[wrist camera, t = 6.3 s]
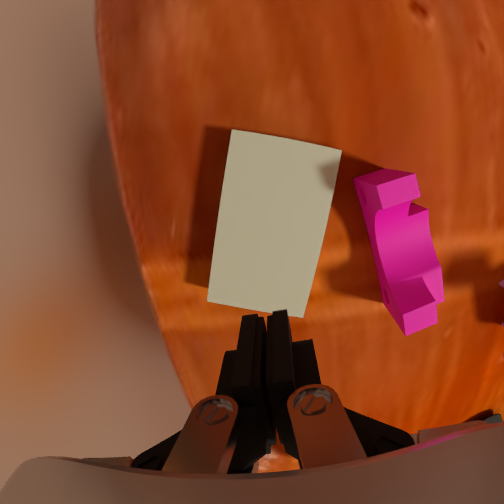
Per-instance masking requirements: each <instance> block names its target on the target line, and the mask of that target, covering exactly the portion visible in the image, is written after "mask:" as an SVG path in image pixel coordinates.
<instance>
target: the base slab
mask: <svg viewBox="0 0 504 504" xmlns="http://www.w3.org/2000/svg"><path fill="white" fill-rule="evenodd" d="M341 152H342V150H338V149H334V148H330V147H325V146H321V145H316V144H312V143H307V142H302V141H297V140H292V139H287V138H282V137H276V136H271V135H265V134H259V133H253V132H246V131H239V130H232V132H231V138H230V144H229V150H228V156H227V162H226V168H225V174H224V181H223V187H222V194H221V200H220V207H219V214H218V221H217V228H216V235H215V242H214V250H213V257H212V265H211V273H210V281H209V289H208V297H207V301H208V302H213V303H218V304H224V305H229V306H235V307H240V308H246V309H251V310H257V311H263V312H269V313H272V312H273V311H278V310H284V309H287V312H288V316H294V317H300V318H303V316H304V312H305V308H306V305H307V301H308V297H309V294H310V290H311V286H312V282H313V278H314V274H315V271H316V267H317V263H318V259H319V255H320V250H321V246H322V242H323V238H324V234H325V229H326V225H327V220H328V216H329V211H330V207H331V202H332V198H333V193H334V188H335V183H336V178H337V173H338V168H339V163H340V158H341Z"/></svg>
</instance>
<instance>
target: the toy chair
mask: <svg viewBox="0 0 504 504" xmlns="http://www.w3.org/2000/svg"><path fill="white" fill-rule="evenodd" d="M499 286H501V287H504V279H503V280H502V281H501V282H499ZM501 325H502V326H503V327H504V322H503V323H501Z"/></svg>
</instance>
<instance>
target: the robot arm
mask: <svg viewBox="0 0 504 504" xmlns="http://www.w3.org/2000/svg"><path fill="white" fill-rule="evenodd" d="M276 428H277V432H278V435H279V439H280V443H281V444H284V447H285V451H286V453H288V454H289V455H291V456H293V457H294V458H296V459H298V463H299V467H300V469H299V470H291V471H281V472H268V473H257V471H258V467H259V462H258V460H259V459H260V458H262V457H263V456H264V455H265V454H271V445H276ZM0 504H504V422H501V423H492V424H488V423H487V422H484V421H481V420H476V421H469V422H465V423H460V424H455V425H449V426H444V427H437V428H431V429H424V430H418V434H409V433H407V432H405V431H403V430H401V429H398V428H395V427H393V426H390V425H387V424H384V423H382V422H379V421H377V420H374V419H372V418H369V417H366V416H364V415H361V414H359V413H357V412H354V411H352V410H349V409H347V408H345V407H343V405H342V403H341V401H340V399H339V397H338V395H337V393H336V392H335V390H334V389H332V388H330V387H329V386H326V385H322V384H321V381H320V376H319V370H318V365H317V360H316V355H315V350H314V345H313V341H312V339H309V340H303V341H297V342H292V336H291V330H290V324H289V318H288V312H287V309H284V310H278V311H273V312H272V315H270V316H267V331H266V326H265V321H264V317H258V314H251V315H245V316H242V321H241V327H240V333H239V339H238V345H237V350H231V351H226V352H225V354H224V359H223V363H222V367H221V372H220V376H219V381H218V385H217V390H216V395H213V396H210V397H206V398H204V399H202V400H200V401H199V402H198V403H197V404H196V405H195V406H194V407H193V409H192V410H191V413H190V415H189V417H188V419H187V421H186V423H185V425H184V427H183V429H182V430H181V431H179V432H177V433H176V434H174V435H172V436H171V437H169V438H167V439H166V440H164V441H162V442H160V443H159V444H157V445H155V446H153V447H152V448H150V449H148V450H146V451H145V452H143V453H141V454H140V455H138V456H137V457H136V458H135V459H132V458H131V457H112V458H83V459H79V458H71V457H60V456H59V457H58V456H46V457H37V458H33V459H30V460H27V461H25V462H23V463H22V464H20V466H18V468H17V469H16V470H15V471H14V472H13V473H12V475H11V476H10V478H9V479H8V480H7V482H6V483H5V485H4V486H3V488H2V489H1V491H0Z"/></svg>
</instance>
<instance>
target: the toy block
mask: <svg viewBox="0 0 504 504" xmlns="http://www.w3.org/2000/svg"><path fill="white" fill-rule="evenodd" d="M353 181H354V184H355V188H356V191H357V195H358V198H359V201H360V205H361V209H362V212H363V216H364V220H365V223H366V227H367V231H368V235H369V239H370V243H371V247H372V252H373V256H374V260H375V265H376V269H377V274H378V279H379V283H380V288H381V294H382V299H383V303H384V305H385V306H386V308H387V309H388V311H389V312H390V314H391V315H392V317H393V318H394V320H395V321H396V323H397V324H398V326H399V327H400V329H401V330H402V332H403V333H404V335H405V336H408V335H410V334H412V333H415V332H417V331H420V330H422V329H424V328H426V327H429V326H431V325H433V324H436V323H437V306H436V304H438V303H440V302H443V301H444V291H443V279H442V268H441V266H440V264H439V261H438V259H437V256H436V253H435V250H434V247H433V243H432V239H431V234H430V228H429V218H428V211H429V209H427V208H424V207H422V206H419V205H417V204H412V205H410V204H411V202H412V200H413V199H415V198H418V197H421V196H420V191H419V187H418V183H417V179H416V175H415V173H410V172H404V171H398V170H392V169H385V168H384V169H381V170H378V171H375V172H371V173H368V174H365V175H362V176H359V177H356V178H353Z"/></svg>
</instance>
